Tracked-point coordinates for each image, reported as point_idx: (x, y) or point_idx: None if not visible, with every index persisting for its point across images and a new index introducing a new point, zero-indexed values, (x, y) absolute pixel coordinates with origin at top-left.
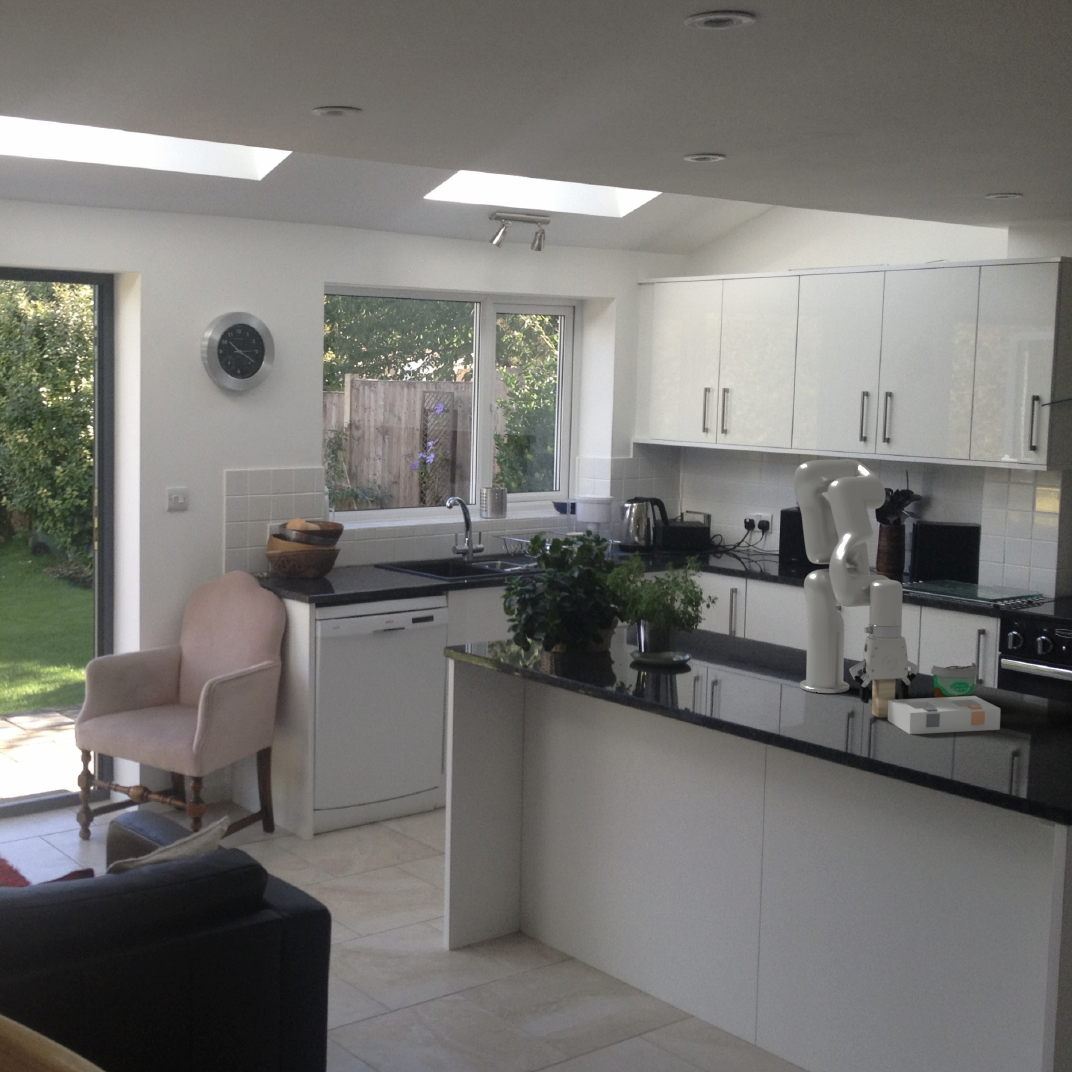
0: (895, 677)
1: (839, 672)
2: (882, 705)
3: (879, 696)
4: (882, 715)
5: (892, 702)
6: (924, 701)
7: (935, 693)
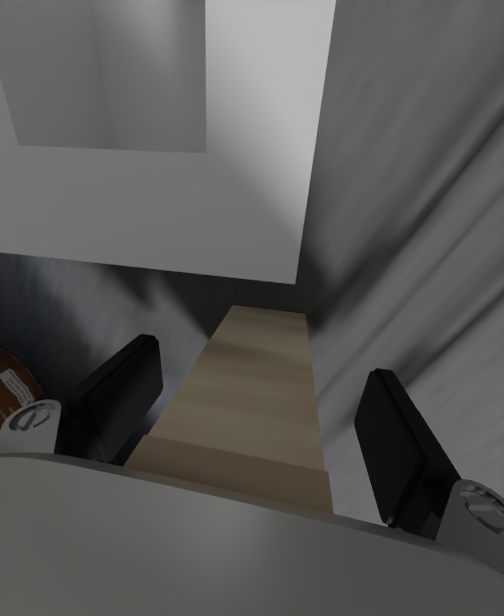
0: (108, 486)
1: None
2: (286, 338)
3: (310, 374)
4: (286, 315)
5: (307, 197)
6: (38, 159)
7: (3, 418)
